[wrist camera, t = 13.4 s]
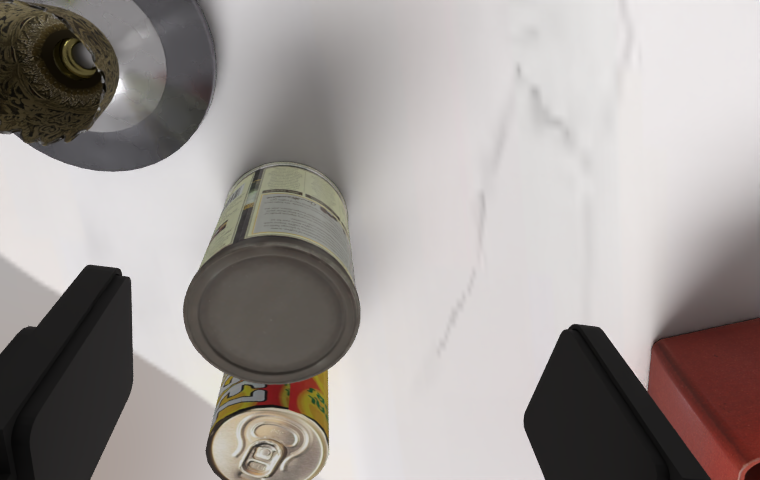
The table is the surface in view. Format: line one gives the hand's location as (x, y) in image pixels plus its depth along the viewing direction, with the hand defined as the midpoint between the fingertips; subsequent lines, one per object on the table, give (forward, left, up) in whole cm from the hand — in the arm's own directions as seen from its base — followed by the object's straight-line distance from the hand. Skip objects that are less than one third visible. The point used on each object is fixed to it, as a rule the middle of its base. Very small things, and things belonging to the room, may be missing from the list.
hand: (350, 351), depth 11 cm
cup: (0, -16, -29) cm, 33 cm away
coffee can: (+11, -2, -31) cm, 33 cm away
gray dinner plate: (0, -16, -31) cm, 35 cm away
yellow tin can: (+25, -2, -31) cm, 40 cm away
